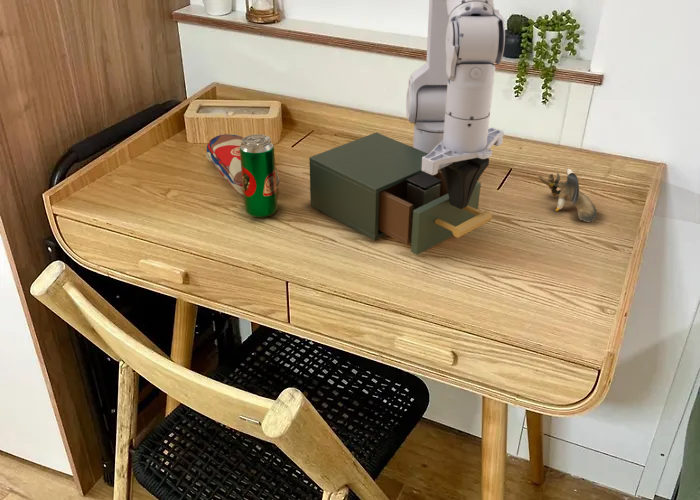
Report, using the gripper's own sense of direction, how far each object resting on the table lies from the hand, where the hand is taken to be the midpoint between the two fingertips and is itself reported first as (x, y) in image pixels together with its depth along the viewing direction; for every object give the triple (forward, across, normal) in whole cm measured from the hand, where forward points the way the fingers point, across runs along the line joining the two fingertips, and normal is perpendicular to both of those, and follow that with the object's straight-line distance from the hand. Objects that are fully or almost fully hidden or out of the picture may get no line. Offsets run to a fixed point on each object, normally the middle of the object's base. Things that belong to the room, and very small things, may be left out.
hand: (458, 205), depth 99 cm
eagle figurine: (+7, +22, -5) cm, 24 cm away
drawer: (+6, 0, +6) cm, 8 cm away
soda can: (+7, -14, +27) cm, 31 cm away
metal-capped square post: (+5, 0, +6) cm, 8 cm away
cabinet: (+7, 0, +16) cm, 18 cm away
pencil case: (+7, -9, +39) cm, 41 cm away
